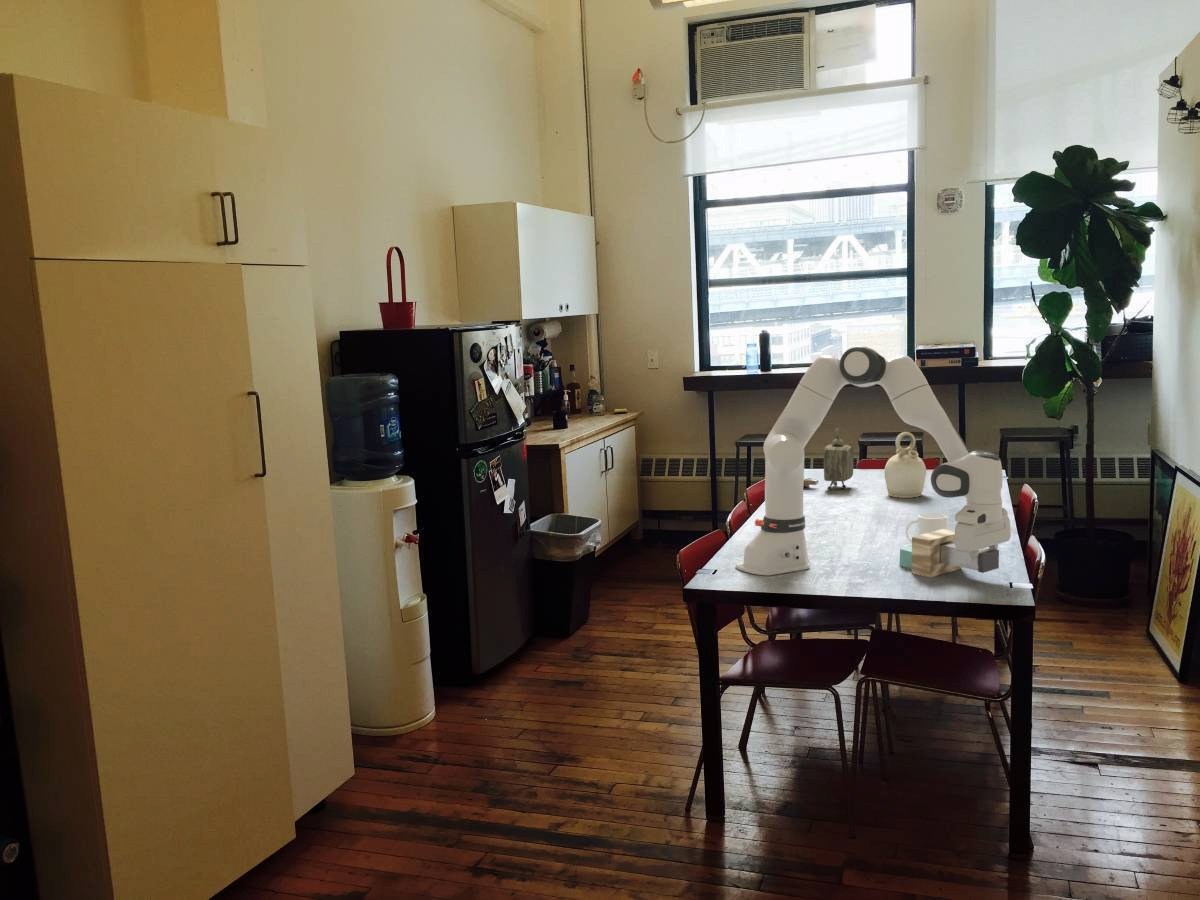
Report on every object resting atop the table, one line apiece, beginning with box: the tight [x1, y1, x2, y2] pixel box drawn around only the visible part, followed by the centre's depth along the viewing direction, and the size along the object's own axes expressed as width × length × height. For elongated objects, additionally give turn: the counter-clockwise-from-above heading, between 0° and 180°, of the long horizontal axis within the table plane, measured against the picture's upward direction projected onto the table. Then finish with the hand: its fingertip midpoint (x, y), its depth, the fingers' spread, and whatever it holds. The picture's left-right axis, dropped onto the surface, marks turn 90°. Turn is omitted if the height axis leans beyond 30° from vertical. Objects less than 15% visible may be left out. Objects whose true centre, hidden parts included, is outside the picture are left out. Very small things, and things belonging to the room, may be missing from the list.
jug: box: [883, 431, 927, 499], centre depth 384 cm, size 15×16×25 cm
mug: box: [905, 512, 948, 544], centre depth 295 cm, size 12×8×12 cm
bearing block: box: [911, 528, 962, 579], centre depth 277 cm, size 14×6×10 cm, turn 125°
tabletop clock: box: [823, 427, 854, 491], centre depth 404 cm, size 14×9×25 cm, turn 154°
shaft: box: [940, 541, 1000, 574], centre depth 272 cm, size 7×20×5 cm, turn 35°
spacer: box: [898, 545, 912, 569], centre depth 284 cm, size 6×5×6 cm
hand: (983, 562), depth 266 cm, fingers closed on shaft, 5 cm apart
